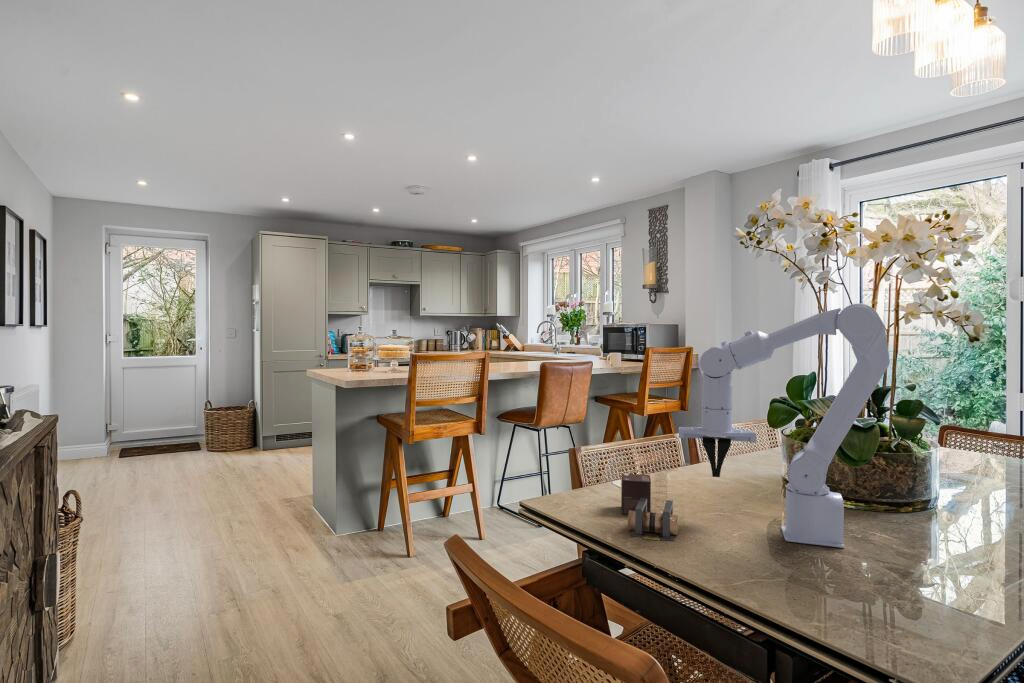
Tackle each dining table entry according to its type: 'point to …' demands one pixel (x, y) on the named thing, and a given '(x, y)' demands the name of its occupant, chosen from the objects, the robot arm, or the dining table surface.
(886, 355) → the robot arm
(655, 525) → the tube
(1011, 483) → the dining table surface
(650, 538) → the index mark
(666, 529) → the dark grey support bracket
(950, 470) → the dining table surface
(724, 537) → the dining table surface
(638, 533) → the collar
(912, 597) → the dining table surface
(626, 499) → the box
